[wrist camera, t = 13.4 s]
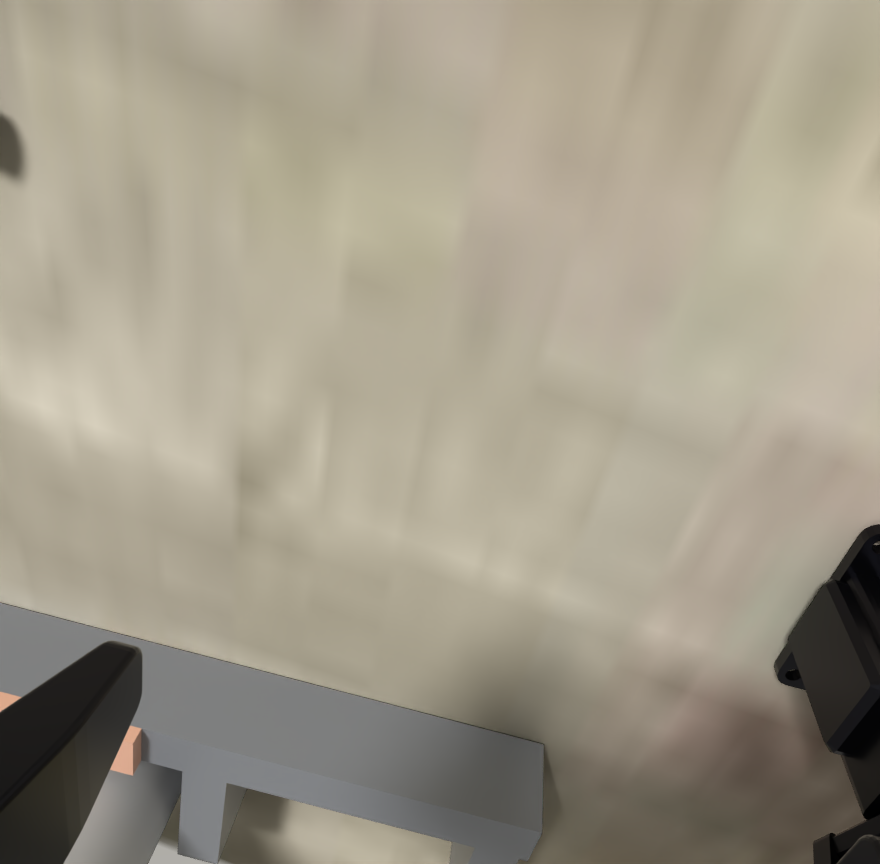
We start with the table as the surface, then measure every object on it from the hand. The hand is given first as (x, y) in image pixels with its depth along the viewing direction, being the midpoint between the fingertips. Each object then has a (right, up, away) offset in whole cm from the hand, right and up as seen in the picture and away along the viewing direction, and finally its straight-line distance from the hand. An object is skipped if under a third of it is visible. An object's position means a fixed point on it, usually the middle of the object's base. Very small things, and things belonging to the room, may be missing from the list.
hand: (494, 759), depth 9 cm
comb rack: (-9, -8, +21) cm, 24 cm away
